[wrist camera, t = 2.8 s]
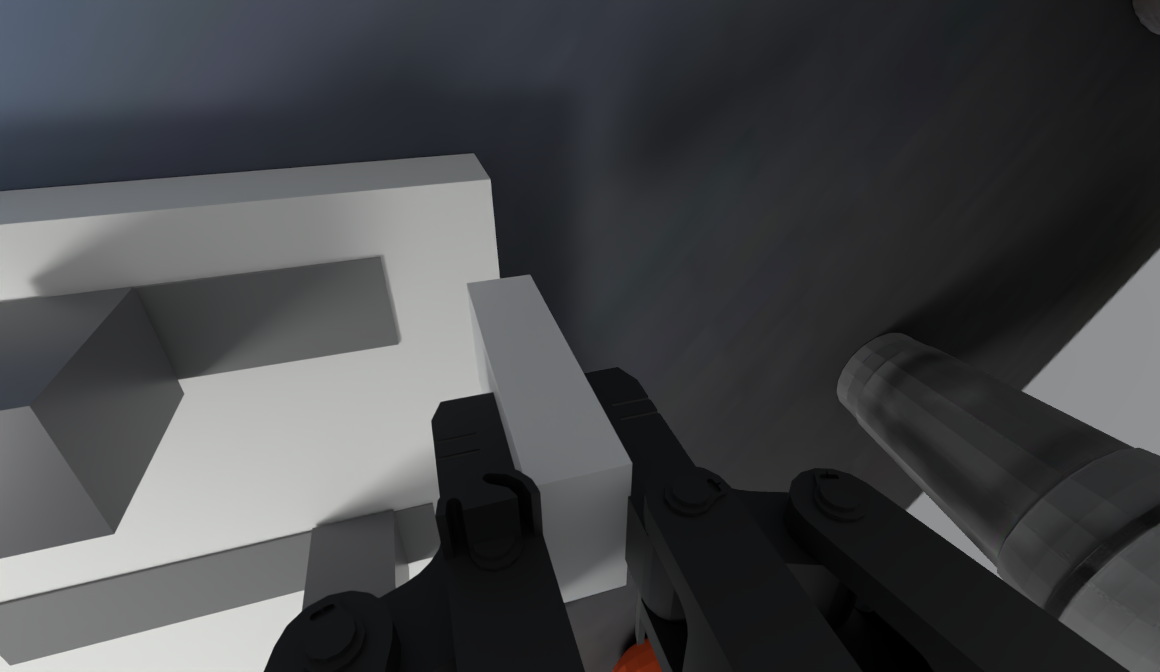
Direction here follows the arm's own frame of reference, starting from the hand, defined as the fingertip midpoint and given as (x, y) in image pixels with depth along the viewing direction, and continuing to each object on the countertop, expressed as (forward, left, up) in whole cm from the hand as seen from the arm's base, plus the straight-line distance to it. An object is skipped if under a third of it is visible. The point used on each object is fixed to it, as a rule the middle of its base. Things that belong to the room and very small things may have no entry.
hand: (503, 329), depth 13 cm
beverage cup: (+19, -9, -6) cm, 22 cm away
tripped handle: (-9, 0, -2) cm, 9 cm away
